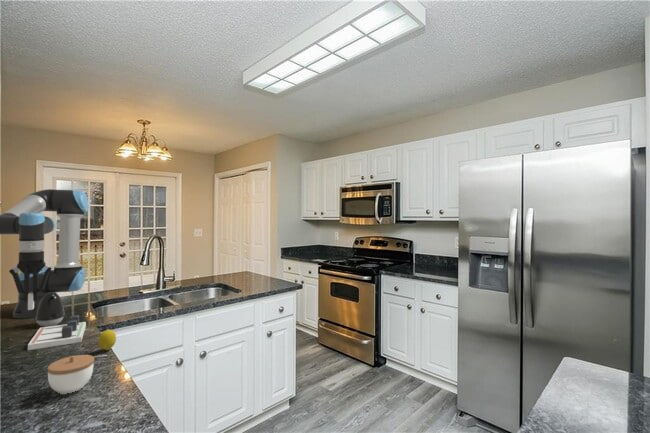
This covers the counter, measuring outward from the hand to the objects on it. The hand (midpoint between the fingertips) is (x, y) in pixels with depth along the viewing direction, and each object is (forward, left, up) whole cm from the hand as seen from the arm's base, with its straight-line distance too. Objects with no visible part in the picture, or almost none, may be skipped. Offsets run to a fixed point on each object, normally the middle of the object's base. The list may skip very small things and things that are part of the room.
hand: (31, 308), depth 129 cm
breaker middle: (+1, +13, -11) cm, 17 cm away
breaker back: (-7, +13, -11) cm, 19 cm away
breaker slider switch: (+9, +13, -11) cm, 19 cm away
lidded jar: (+54, +18, -13) cm, 58 cm away
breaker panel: (+1, +9, -13) cm, 16 cm away
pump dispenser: (-20, +3, -13) cm, 24 cm away
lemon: (+27, +26, -13) cm, 40 cm away
